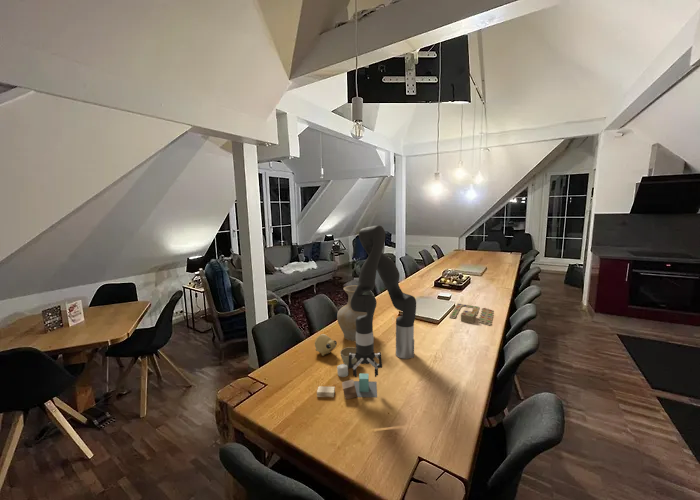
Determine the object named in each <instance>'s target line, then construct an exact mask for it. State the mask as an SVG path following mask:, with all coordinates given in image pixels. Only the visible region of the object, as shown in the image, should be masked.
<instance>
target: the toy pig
mask: <svg viewBox="0 0 700 500" xmlns="http://www.w3.org/2000/svg"><path fill="white" fill-rule="evenodd" d="M337 343H338V342H337V341H336V340H334V339H332V337H330V336H328V335H327V334H325V333H322V334H319V335H318V336H317V337H316V339H315V341H314V347H315V351H316V352H318V353H320V354H321V356H322V357H324V356H325V355H327V354H330V353H331V352H332V351H333V350H334V349H336V348H337Z"/></svg>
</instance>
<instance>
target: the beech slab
mask: <svg viewBox="0 0 700 500" xmlns="http://www.w3.org/2000/svg"><path fill="white" fill-rule="evenodd" d="M335 389H336V386H323V385H321V386H318V387H317V390H316V397H317V398H334V397H335V393H336V390H335Z"/></svg>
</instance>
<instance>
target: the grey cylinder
mask: <svg viewBox="0 0 700 500" xmlns="http://www.w3.org/2000/svg"><path fill="white" fill-rule="evenodd" d="M336 370H337V376H338V377H340V378H345V377H348V375H349V367H348V366H347V365H346V364H344V363H341V364H339V365H337V366H336Z"/></svg>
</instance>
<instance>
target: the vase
mask: <svg viewBox="0 0 700 500" xmlns="http://www.w3.org/2000/svg"><path fill="white" fill-rule="evenodd" d="M357 285H358V284H357ZM357 285H356V284H355V285H354V284H353V285H347V286H344V287H343V291H344V292H345V293H346V294H347V297H348V298H347V303H346V304H345V305H343V306H342V307H341V308H339V309H338V311H337V314H336V319H337V324H338V325H339V327H340V329H341V332H342V334H343V338H344V339H345V340H347V341H350V342H356V341H355V339H356V318H357V317H359V316H362V315H367V312H357V311H353V310H352V308H351V299H352V296H353V294H354V292H355V290H356V288H357Z"/></svg>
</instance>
